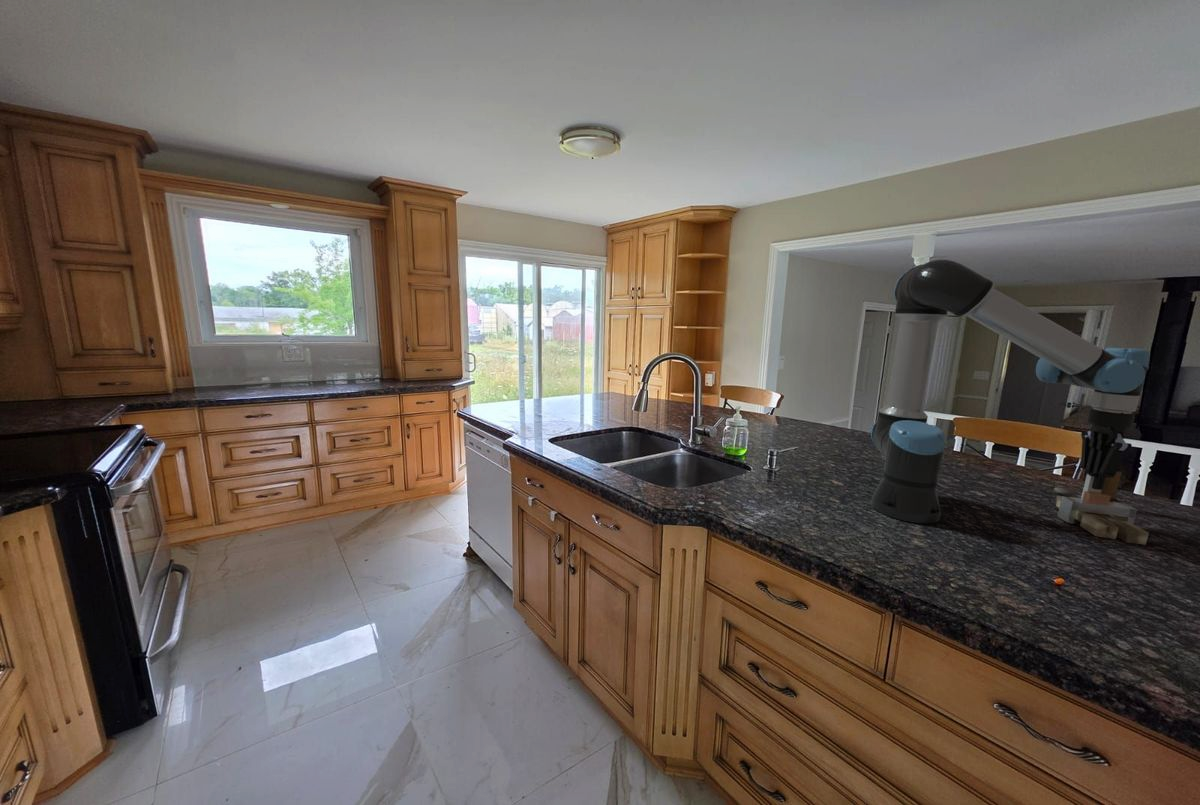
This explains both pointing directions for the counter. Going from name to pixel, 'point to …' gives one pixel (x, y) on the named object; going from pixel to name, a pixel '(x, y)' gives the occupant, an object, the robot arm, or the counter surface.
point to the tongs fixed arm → (1125, 529)
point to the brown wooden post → (1112, 486)
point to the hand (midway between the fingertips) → (1089, 499)
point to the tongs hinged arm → (1089, 518)
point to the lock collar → (1095, 507)
